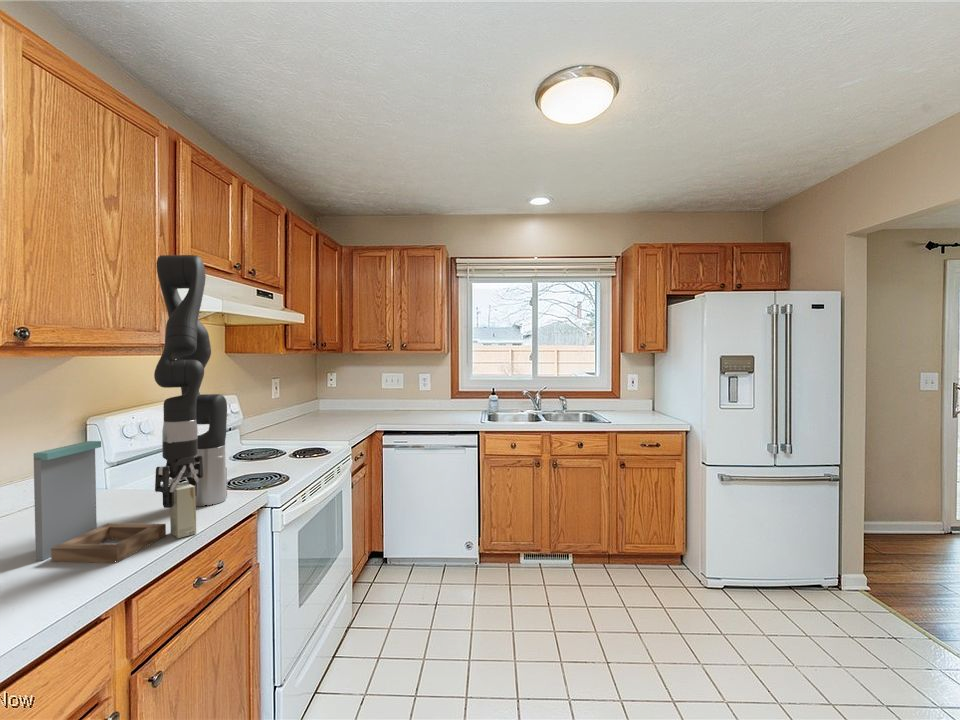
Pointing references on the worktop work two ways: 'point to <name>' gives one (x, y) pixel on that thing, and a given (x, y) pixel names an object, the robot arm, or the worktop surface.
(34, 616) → the worktop surface
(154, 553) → the worktop surface
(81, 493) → the board
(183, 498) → the skincare box
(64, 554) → the socket block
